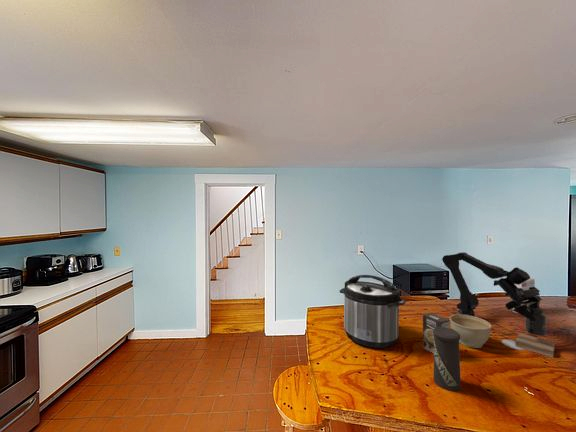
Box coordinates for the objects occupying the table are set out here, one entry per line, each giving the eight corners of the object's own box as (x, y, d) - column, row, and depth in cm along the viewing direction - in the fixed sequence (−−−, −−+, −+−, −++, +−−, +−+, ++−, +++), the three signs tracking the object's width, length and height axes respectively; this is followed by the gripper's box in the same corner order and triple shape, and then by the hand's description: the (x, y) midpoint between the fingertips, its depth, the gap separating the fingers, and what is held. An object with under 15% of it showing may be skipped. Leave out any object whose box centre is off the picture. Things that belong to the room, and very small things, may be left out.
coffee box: (422, 348, 113) (421, 314, 113) (431, 345, 116) (431, 311, 116) (441, 358, 105) (440, 321, 105) (450, 355, 107) (450, 319, 107)
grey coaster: (510, 350, 112) (510, 348, 112) (497, 340, 120) (497, 338, 120) (532, 351, 110) (532, 350, 110) (517, 341, 119) (517, 340, 119)
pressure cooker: (416, 344, 116) (415, 279, 116) (368, 357, 107) (367, 286, 106) (374, 319, 145) (373, 267, 144) (333, 327, 135) (332, 271, 135)
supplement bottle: (548, 337, 109) (548, 311, 108) (528, 334, 112) (527, 308, 112) (543, 331, 114) (543, 306, 114) (523, 327, 118) (523, 303, 118)
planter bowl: (453, 331, 128) (453, 311, 128) (493, 343, 117) (493, 320, 117) (446, 343, 117) (446, 321, 117) (489, 357, 105) (489, 332, 105)
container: (427, 376, 94) (427, 325, 93) (449, 374, 94) (448, 324, 94) (444, 392, 85) (443, 336, 85) (467, 390, 86) (467, 335, 86)
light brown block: (553, 357, 104) (553, 351, 104) (515, 346, 114) (515, 341, 114) (554, 347, 112) (554, 342, 112) (519, 337, 121) (519, 332, 121)
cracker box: (523, 308, 158) (523, 276, 158) (535, 312, 152) (535, 279, 152) (510, 311, 153) (510, 279, 153) (522, 315, 147) (522, 281, 147)
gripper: (513, 283, 114) (544, 315, 103) (536, 279, 120) (568, 309, 109) (494, 294, 121) (521, 325, 111) (517, 290, 127) (544, 319, 117)
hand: (539, 319), depth 112 cm, fingers closed on supplement bottle, 7 cm apart
